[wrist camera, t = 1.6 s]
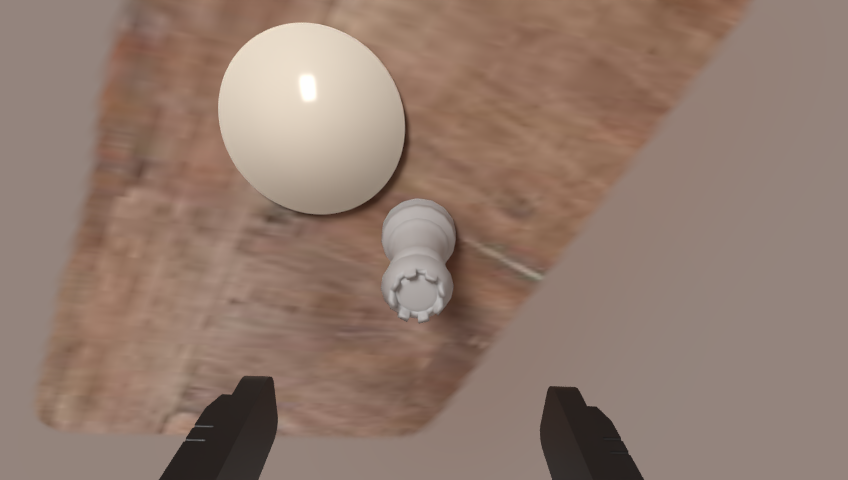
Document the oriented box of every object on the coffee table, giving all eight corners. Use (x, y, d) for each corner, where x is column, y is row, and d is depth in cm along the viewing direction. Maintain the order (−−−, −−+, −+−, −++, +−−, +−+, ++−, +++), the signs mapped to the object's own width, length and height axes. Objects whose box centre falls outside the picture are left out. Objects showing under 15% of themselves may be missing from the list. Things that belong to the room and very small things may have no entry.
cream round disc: (210, 18, 21) (204, 17, 20) (407, 28, 21) (407, 27, 20) (236, 207, 24) (231, 210, 24) (402, 214, 25) (402, 217, 24)
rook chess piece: (470, 229, 25) (490, 295, 17) (421, 277, 26) (420, 358, 19) (416, 180, 24) (412, 229, 16) (367, 233, 25) (343, 301, 17)
